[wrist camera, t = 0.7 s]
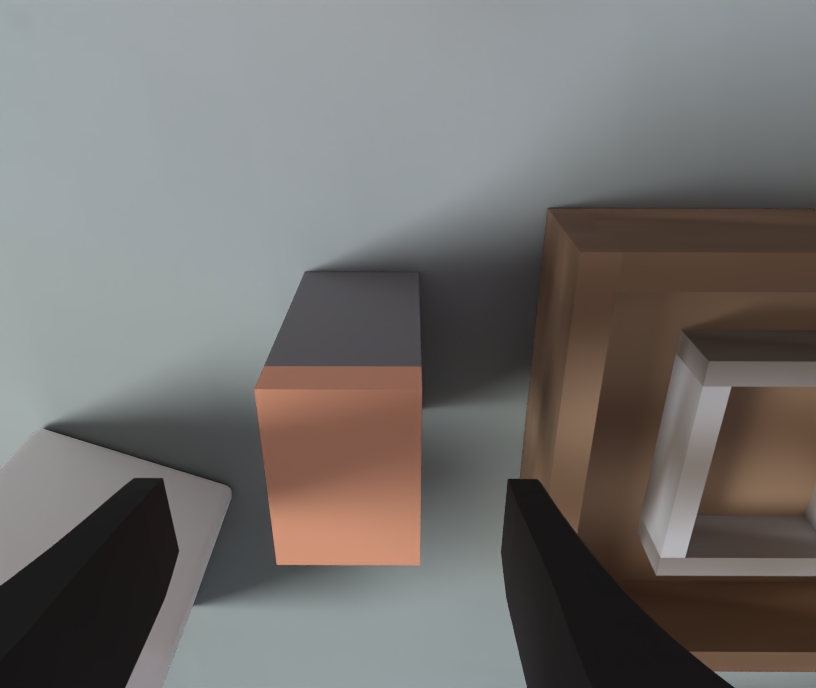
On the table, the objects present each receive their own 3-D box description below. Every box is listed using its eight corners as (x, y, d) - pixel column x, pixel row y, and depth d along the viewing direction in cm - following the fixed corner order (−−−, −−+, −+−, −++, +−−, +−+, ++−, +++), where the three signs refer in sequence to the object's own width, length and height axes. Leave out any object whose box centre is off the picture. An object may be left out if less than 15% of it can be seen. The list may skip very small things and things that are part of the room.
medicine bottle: (14, 561, 25) (-287, 966, 14) (37, 421, 22) (-322, 802, 11) (191, 609, 26) (38, 1017, 15) (236, 483, 23) (85, 881, 12)
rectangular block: (417, 409, 22) (419, 565, 15) (315, 408, 22) (276, 564, 15) (418, 271, 19) (421, 390, 13) (305, 271, 19) (253, 389, 13)
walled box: (884, 580, 25) (963, 672, 21) (509, 578, 25) (525, 670, 22) (1062, 209, 18) (1220, 253, 15) (547, 208, 18) (580, 252, 15)
